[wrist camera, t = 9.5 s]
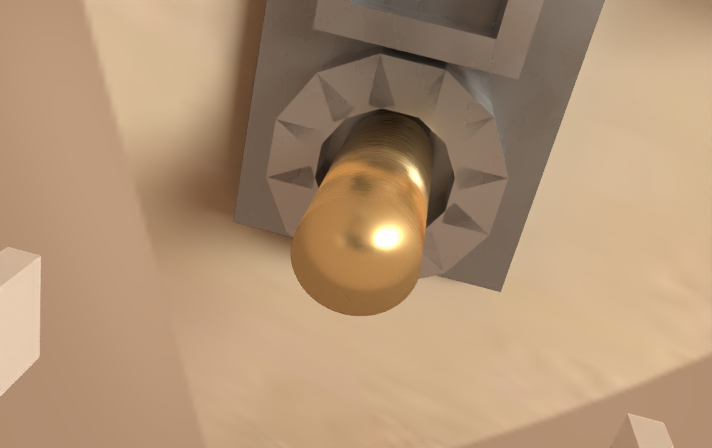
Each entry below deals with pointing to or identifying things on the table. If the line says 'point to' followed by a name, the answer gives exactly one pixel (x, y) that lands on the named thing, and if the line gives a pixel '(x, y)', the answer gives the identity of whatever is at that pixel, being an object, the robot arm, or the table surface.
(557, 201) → the table surface
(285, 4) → the jig
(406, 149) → the brass cylinder peg
